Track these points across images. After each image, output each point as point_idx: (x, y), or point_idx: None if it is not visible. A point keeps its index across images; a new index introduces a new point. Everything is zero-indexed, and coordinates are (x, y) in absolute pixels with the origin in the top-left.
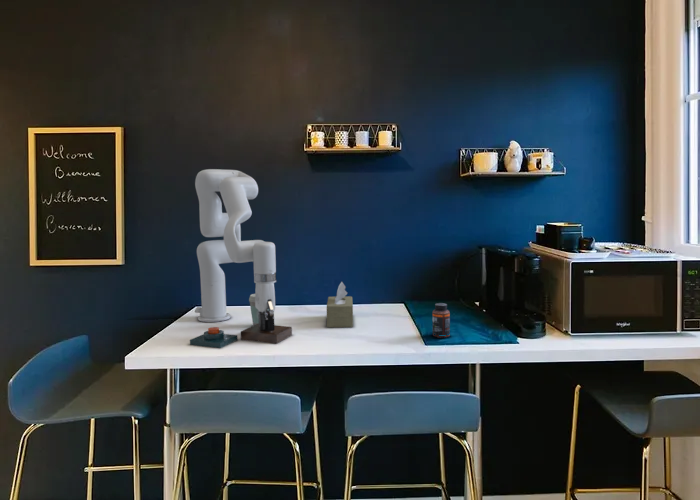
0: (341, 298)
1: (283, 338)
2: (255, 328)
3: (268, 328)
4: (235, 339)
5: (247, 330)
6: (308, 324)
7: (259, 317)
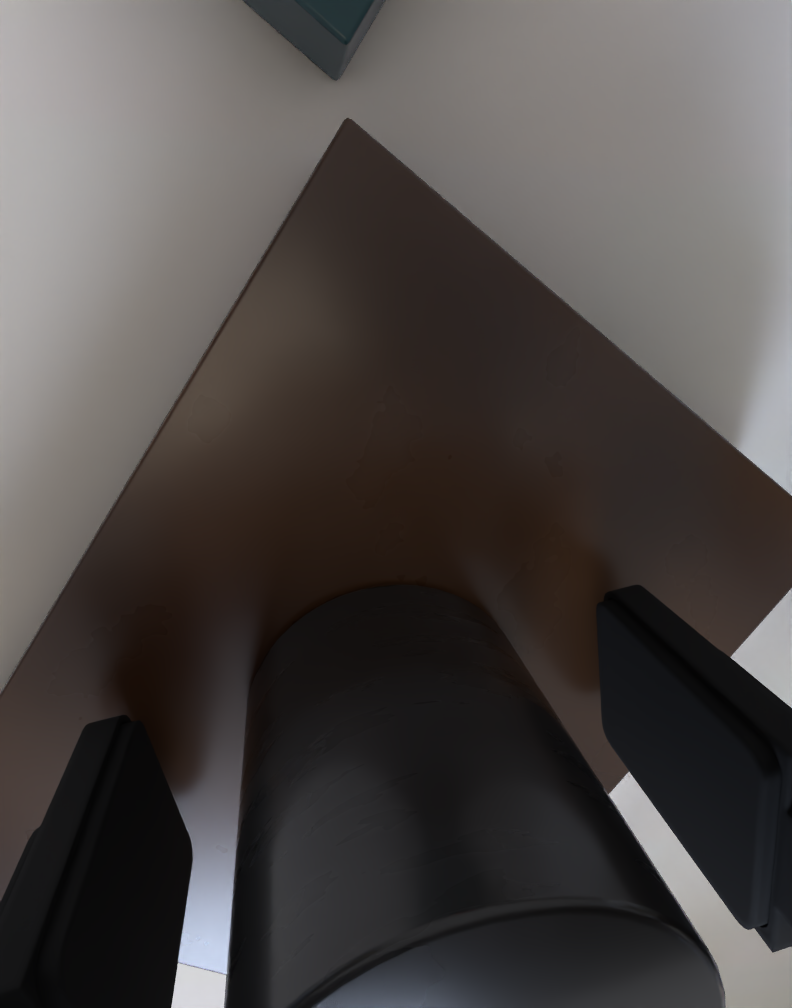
0: None
1: None
2: (501, 499)
3: (36, 830)
4: (271, 12)
5: (385, 313)
6: (746, 995)
7: (415, 805)
